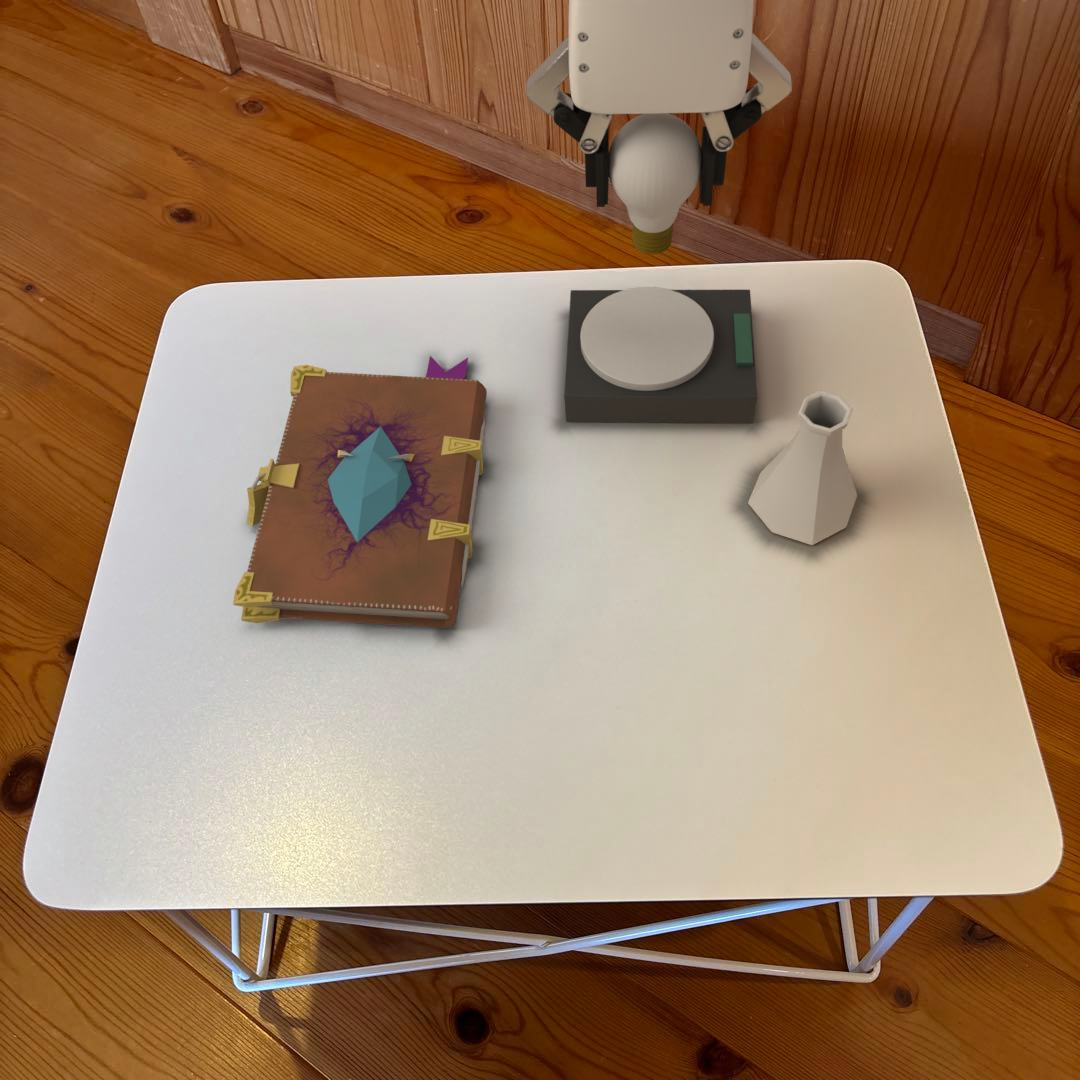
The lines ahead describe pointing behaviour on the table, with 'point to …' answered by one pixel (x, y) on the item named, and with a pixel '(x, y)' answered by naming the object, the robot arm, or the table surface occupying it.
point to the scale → (660, 356)
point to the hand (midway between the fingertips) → (653, 190)
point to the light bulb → (654, 175)
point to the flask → (809, 476)
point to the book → (368, 500)
